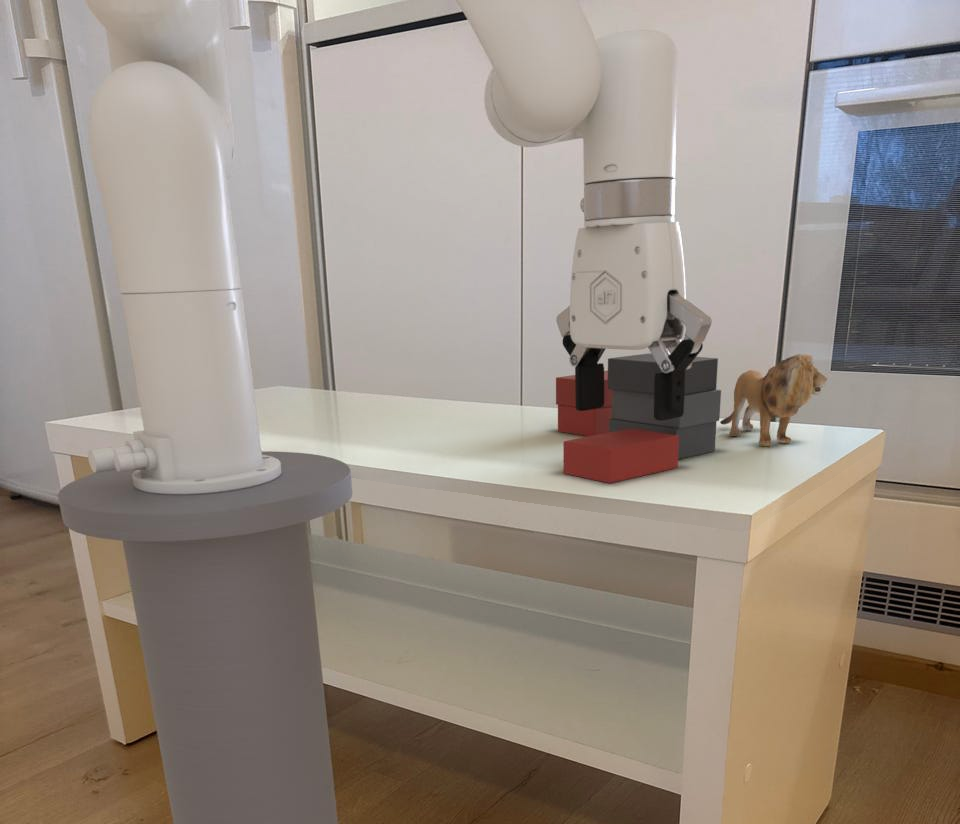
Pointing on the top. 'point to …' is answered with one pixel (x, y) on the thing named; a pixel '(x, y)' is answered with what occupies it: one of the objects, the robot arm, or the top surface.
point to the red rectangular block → (620, 455)
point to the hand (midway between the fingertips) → (627, 413)
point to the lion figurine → (775, 395)
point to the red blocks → (581, 420)
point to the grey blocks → (636, 401)
